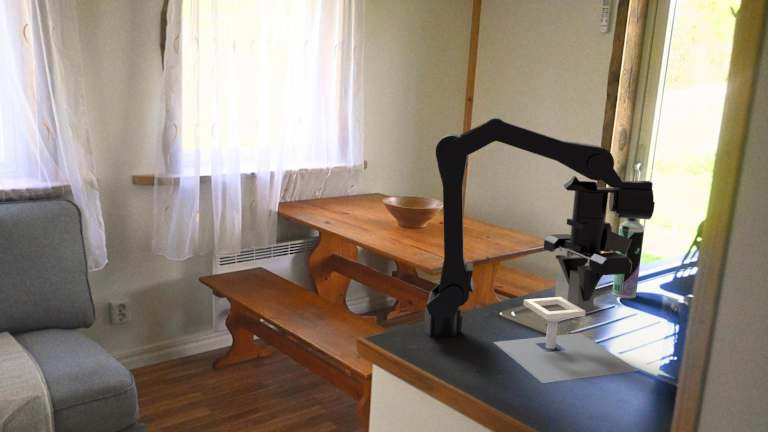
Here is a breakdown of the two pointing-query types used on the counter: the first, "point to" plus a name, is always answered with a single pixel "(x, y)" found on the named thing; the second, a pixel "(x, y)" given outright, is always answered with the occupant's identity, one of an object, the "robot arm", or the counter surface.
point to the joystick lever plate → (563, 302)
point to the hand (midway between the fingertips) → (580, 297)
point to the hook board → (563, 356)
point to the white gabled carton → (561, 286)
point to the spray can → (628, 282)
